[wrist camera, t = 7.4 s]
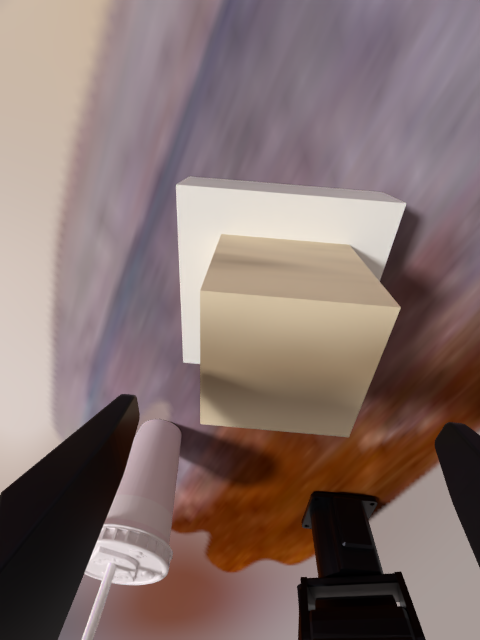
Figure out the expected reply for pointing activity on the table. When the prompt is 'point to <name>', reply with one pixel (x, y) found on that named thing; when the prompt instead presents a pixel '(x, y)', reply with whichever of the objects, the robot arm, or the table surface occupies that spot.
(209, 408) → the maple cube
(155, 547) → the smoothie
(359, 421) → the table surface
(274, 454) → the table surface
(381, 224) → the plinth
